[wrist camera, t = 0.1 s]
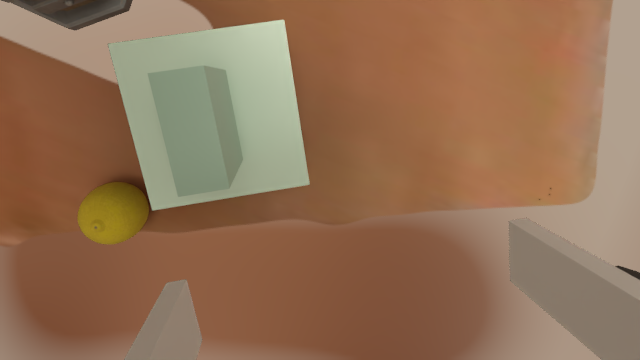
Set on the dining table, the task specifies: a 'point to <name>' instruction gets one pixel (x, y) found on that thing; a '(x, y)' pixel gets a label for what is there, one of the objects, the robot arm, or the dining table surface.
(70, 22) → the tankard
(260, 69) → the lid
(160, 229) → the dining table surface
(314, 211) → the dining table surface
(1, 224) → the dining table surface
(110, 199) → the lemon
